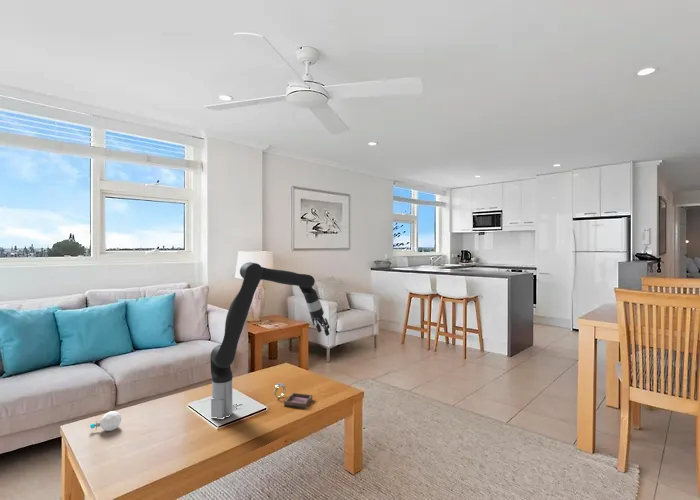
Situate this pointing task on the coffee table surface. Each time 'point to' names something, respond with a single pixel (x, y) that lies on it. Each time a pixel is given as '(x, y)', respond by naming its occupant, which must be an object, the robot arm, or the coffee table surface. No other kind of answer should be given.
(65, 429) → the coffee table surface
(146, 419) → the coffee table surface
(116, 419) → the perfume bottle
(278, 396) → the ring
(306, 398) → the jewellery tray
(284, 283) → the robot arm
